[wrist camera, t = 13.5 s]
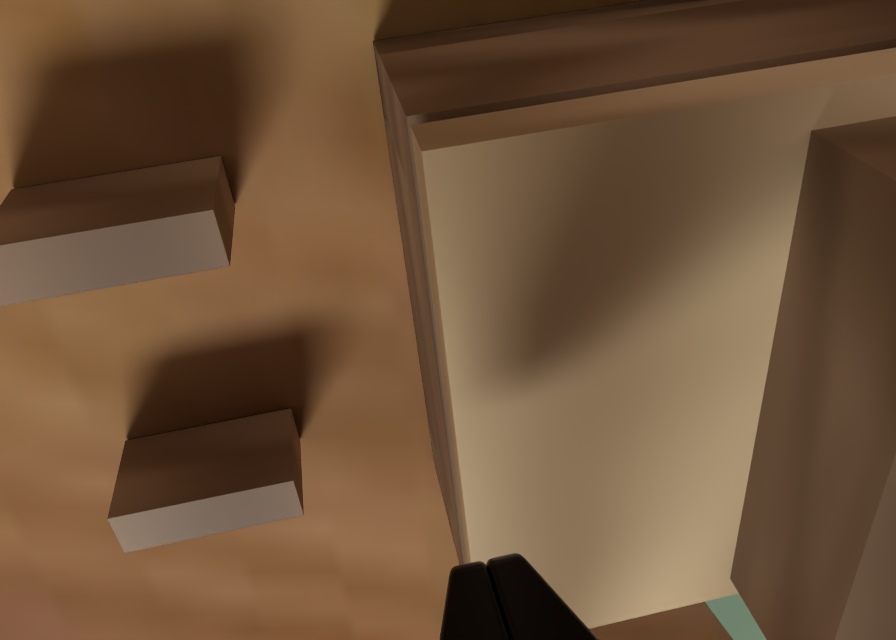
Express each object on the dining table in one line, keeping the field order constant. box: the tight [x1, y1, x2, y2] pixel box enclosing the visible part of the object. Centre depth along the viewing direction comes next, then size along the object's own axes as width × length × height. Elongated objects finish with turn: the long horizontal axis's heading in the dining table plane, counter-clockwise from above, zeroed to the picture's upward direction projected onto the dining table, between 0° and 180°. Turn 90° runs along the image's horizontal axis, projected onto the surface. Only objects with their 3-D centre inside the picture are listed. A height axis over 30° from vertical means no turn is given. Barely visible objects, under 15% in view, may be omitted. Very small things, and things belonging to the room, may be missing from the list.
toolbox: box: [0, 0, 896, 565], centre depth 13 cm, size 20×9×4 cm, turn 95°
